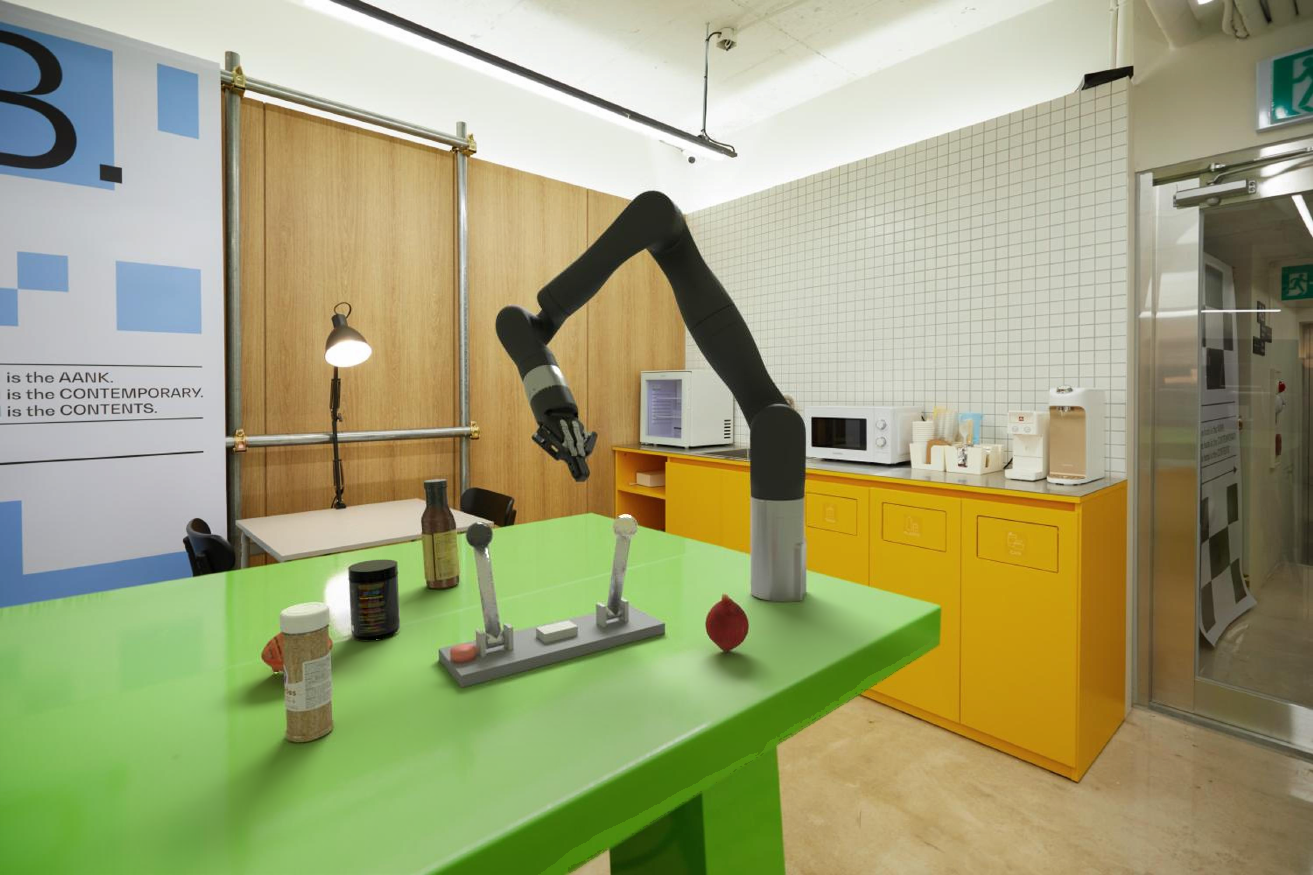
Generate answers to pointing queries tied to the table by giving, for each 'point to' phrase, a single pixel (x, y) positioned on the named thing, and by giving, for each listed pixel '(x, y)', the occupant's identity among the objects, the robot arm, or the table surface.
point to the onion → (727, 624)
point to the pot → (277, 653)
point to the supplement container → (374, 599)
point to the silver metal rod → (486, 582)
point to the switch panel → (546, 644)
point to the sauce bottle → (439, 538)
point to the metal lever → (620, 563)
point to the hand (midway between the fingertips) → (583, 479)
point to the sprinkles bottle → (307, 671)
